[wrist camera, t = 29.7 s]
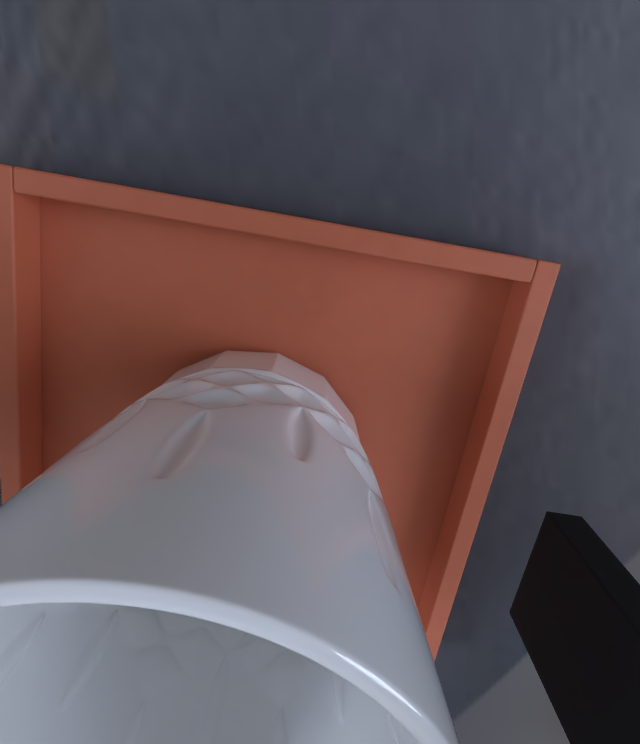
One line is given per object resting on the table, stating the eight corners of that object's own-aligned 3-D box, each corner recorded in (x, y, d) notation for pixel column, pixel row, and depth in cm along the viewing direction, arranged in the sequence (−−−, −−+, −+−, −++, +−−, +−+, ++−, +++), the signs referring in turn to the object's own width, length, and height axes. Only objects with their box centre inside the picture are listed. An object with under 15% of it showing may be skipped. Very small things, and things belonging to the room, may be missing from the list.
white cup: (425, 477, 15) (613, 930, 5) (233, 593, 16) (109, 1116, 7) (275, 273, 13) (149, 410, 3) (72, 425, 14) (-421, 823, 5)
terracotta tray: (532, 259, 13) (562, 263, 12) (418, 640, 18) (428, 682, 16) (28, 169, 13) (-15, 161, 11) (36, 587, 17) (5, 626, 15)
